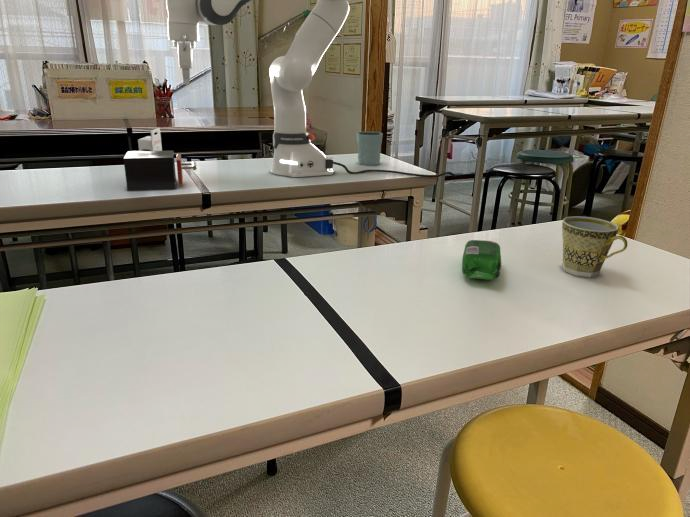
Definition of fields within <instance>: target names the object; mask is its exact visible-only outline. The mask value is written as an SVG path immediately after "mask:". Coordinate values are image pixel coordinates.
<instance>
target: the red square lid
mask: <svg viewBox="0 0 690 517" xmlns="http://www.w3.org/2000/svg"><path fill="white" fill-rule="evenodd" d="M173 166H174V164H173ZM197 169H198V167H197V162H196V161H192V162H182V153H177V154H176V170H177V182H178V183H177V184H178V186H181V187H182V186H183V185H184V174H183V170H193V171H196V170H197ZM174 177H175V175H174Z"/></svg>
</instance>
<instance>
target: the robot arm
mask: <svg viewBox="0 0 690 517" xmlns="http://www.w3.org/2000/svg"><path fill="white" fill-rule="evenodd" d="M251 1H252V0H165V6H166V10H167V16H168V17H167V37H168V41H172V45H173V48H176V54H177V57H178V58H177V59H178V67H179V69H181V74H182V82H183V85H185V86H189V85H190V84H191V82H190V81H191V80H190V79H191V78H190V77H191V76H190V75H191V73H190V72H191V71H190V70H191V69H193V55H194V54H193V53H194V49H196V43H200V26H199V24H200V23H204V24H206V25H208V26H224V25H227V24H229V23H230V22H233V20H234V19H235V18H236V16H237V14H238V13H239V12H240V10H241V9H242V8H243V7H244V6H245V5H246V4H248V3H250V2H251ZM349 12H350V3H349V2H348V0H316V3H315V5H314V7H313V8H312V10H311V11H310V13H308V15H307V17H306V18H305V19H304V21H303V23H302V24H301V26H300V27H299V29H298V30H297V31H296V32H295V36H294V39H293V40H292V43H291V44H290V47H289V48H288V49H287V50H288V51H287V52H286V53H285V55H281V56H278V57H276V58H275V59H274V60H273V61H272V62H271V64H270V66H269V69H268V73H269V79H270V80H269V82H270V90H271V91H270V92H271V97H272V98H271V99H272V104H273V125H274V126H273V128H274V129H273V130H274V131H273V132H272V147H273V157H272V163H271V167H270V173H271V174H274V175H277V176H286V177H290V178H305V177H317V176H318V177H319V176H320V177H321V176H331V175H333V174H334V169H333V168H334V165H336V166H338V167H342V168H344V170H345V171H346V173H347V174H349V175H357V174H358V175H359V174H364V173H387V174H398V175H403V176H404V175H405V176H411V177H418V178H419V177H421V178H439V177H443V176H445V175H450V176H452V177H455V178H456V174H454V173H453V172H451V171H444V172H442V173H439V174H420V173H411V172H404V171H399V170H398V171H397V170H388V169H363V170H359V171H352V170H349V169H348V167H347V166H346V165H345V164H343V163H341V162H337V161H334V157H331V156H330V157H329V156H328V157H327V156H326V154H325V153H324V152H323V151H321V150H320V149H319V148H318V147H317V146H316V145H314V144H313V143H312V142H313V141H315V139H316V137H315V135H314V134H311V133H309V132H308V131H307V107H306V104H305V99H304V94H303V93H304V92H303V90H305V89H306V88H308V87H309V85H310V84H311V83H312V80H313V76H314V74H315V72H316V71H317V68H318V67H319V64H320V62H321V60H322V58H323V56H324V55H325V53H326V51H327V50H328V48H329V47H330V46H331V44H332V42H333V41H334V40H335V38H336V36H337V35H338V34H339V32H340V31H341V29H342V27H343V25H344V24H345V21H346V20H347V17H348V15H349Z"/></svg>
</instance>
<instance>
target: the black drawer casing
mask: <svg viewBox="0 0 690 517" xmlns="http://www.w3.org/2000/svg"><path fill="white" fill-rule="evenodd" d="M175 162H176V161H175V152H174V150H162V151H139V150H128V151H127V152H126V153H125V155H124V157H123V166H124V174H125V181H126V182H125V184H126V190H127V192H131V191H160V190H176V188H177V187H176V186H177V175H176V165H175ZM173 164H174V166H173ZM174 175H175V177H174Z"/></svg>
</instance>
